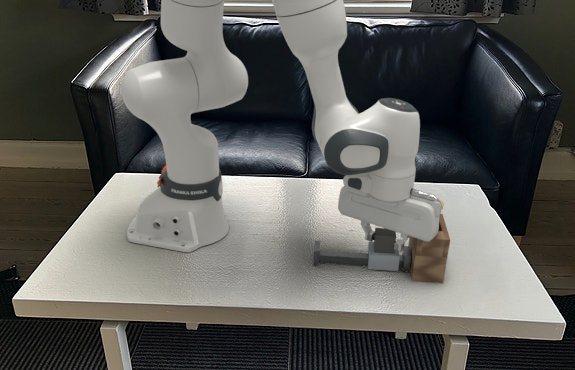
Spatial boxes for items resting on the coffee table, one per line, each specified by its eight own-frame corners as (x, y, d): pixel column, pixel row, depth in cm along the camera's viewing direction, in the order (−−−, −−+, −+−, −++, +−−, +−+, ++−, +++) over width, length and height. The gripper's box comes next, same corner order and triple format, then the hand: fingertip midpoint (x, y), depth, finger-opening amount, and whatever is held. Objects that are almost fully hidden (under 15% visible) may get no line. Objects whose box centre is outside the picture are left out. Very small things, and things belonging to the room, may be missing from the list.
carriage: (368, 269, 114) (370, 237, 110) (367, 255, 118) (370, 224, 115) (398, 271, 113) (401, 239, 110) (396, 257, 118) (399, 226, 114)
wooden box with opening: (412, 281, 111) (417, 237, 106) (407, 253, 120) (412, 212, 115) (443, 283, 110) (450, 239, 106) (436, 254, 119) (442, 213, 115)
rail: (313, 265, 115) (313, 250, 114) (314, 254, 119) (314, 240, 117) (409, 272, 114) (411, 257, 112) (407, 260, 117) (409, 246, 116)
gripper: (449, 190, 104) (439, 253, 111) (351, 164, 115) (347, 223, 121) (436, 204, 100) (427, 268, 106) (335, 175, 110) (332, 236, 116)
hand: (384, 244), depth 113 cm, fingers closed on carriage, 5 cm apart
